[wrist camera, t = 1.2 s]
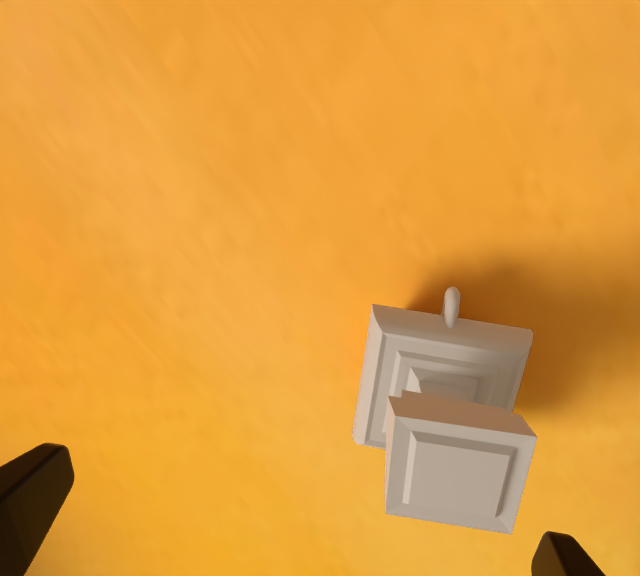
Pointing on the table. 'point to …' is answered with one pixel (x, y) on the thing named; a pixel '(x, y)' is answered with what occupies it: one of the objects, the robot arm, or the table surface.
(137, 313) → the table surface
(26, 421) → the table surface
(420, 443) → the stamp
